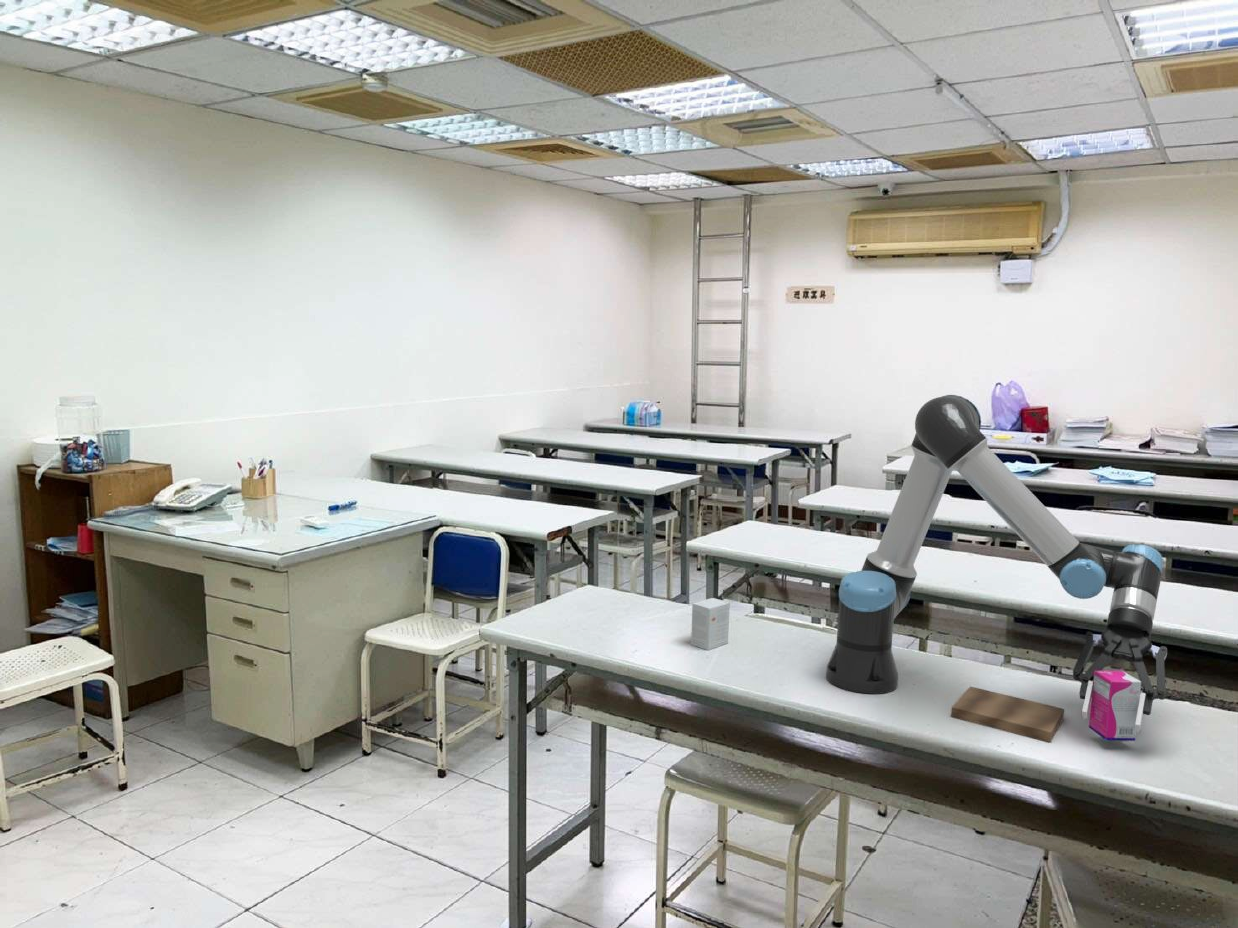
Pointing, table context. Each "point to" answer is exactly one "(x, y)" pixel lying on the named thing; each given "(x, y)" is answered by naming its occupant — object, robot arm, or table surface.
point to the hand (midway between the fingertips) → (1110, 721)
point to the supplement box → (1114, 705)
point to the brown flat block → (1008, 713)
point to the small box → (710, 623)
